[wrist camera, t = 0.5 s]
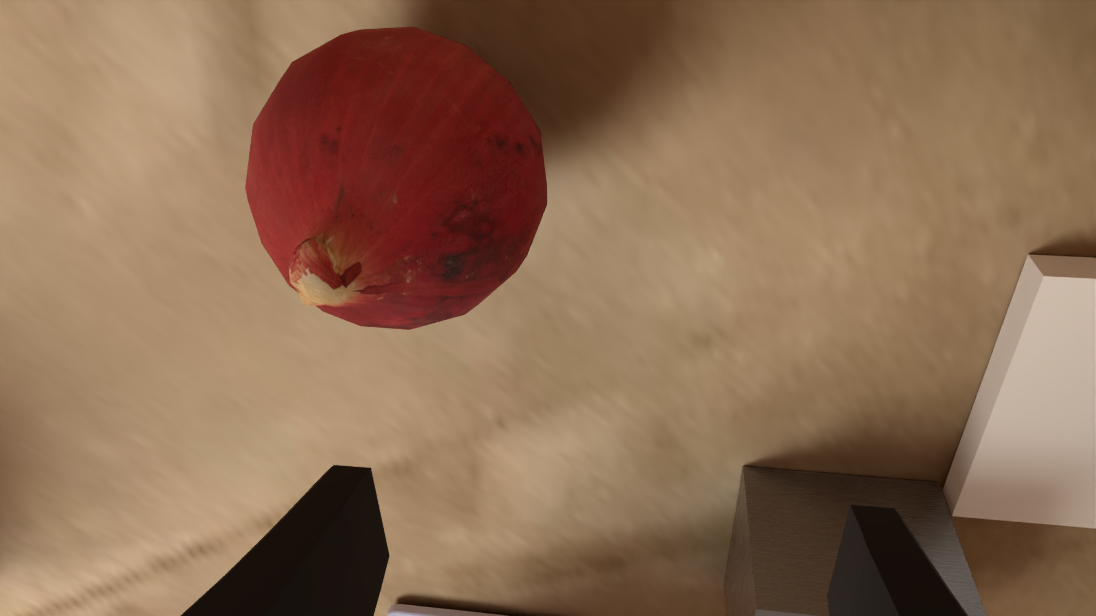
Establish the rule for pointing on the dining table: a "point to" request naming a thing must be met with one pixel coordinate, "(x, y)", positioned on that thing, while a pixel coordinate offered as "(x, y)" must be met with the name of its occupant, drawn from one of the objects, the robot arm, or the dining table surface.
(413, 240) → the onion
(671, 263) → the dining table surface
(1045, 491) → the post block
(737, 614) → the collar
